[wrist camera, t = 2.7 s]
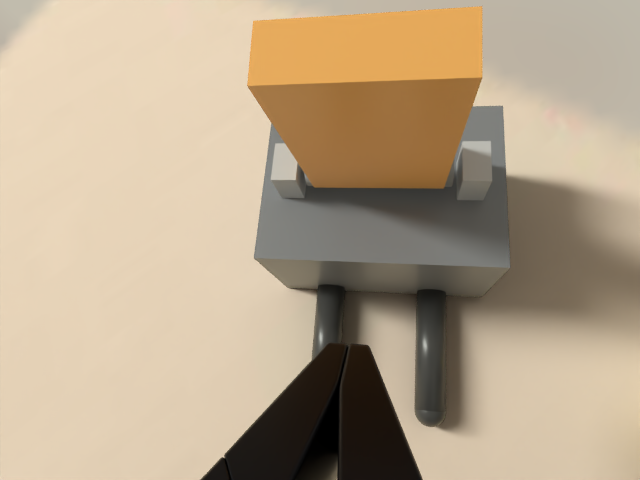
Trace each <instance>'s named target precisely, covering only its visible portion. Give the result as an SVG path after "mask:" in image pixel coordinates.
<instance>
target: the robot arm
mask: <svg viewBox="0 0 640 480" xmlns="http://www.w3.org/2000/svg"><path fill="white" fill-rule="evenodd" d="M224 457H225V458H223V457H222V458H220V460H219V461H218V462H217V463H216V464H215V465H214V466H213V467H212V468H211V469H210V470H209V471H208V472H207V474H206V475H205V476H204V477H203V478H202V479H201V480H336V479H337V480H423V479H422V476H421V474H420V471H419V469H418V466H417V464H416V461H415V459H414V456H413V454H412V452H411V449H410V447H409V444H408V442H407V439H406V437H405V434H404V432H403V429H402V427H401V424H400V422H399V419H398V417H397V414H396V412H395V409H394V407H393V404H392V402H391V399H390V397H389V394H388V392H387V389H386V387H385V384H384V382H383V379H382V377H381V374H380V372H379V369H378V367H377V364H376V362H375V359H374V357H373V354H372V352H371V349H370V347H369V346H368V345H361V344H350V345H349V347H348V345H347V344H345V343H333V342H330V343H328V344H327V345H326V346H325V347H324V348H323V349H322V350H321V351H320V352H319V353H318V354H317V355H316V356H315V357H314V359H313V360H312V361H311V362H310V363H309V364H308V365H307V366H306V367H305V368H304V369H303V370H302V371H301V373H300V374H299V375H298V376H297V377H296V378H295V379H294V380H293V381H292V382H291V383H290V384H289V385H288V387H287V388H286V389H285V390H284V391H283V392H282V393H281V394H280V395H279V396H278V397H277V398H276V399H275V401H274V402H273V403H272V404H271V405H270V406H269V407H268V408H267V409H266V410H265V411H264V412H263V413H262V415H261V416H260V417H259V418H258V419H257V420H256V421H255V422H254V423H253V424H252V425H251V426H250V427H249V429H248V430H247V431H246V432H245V433H244V434H243V435H242V436H241V437H240V438H239V439H238V440H237V442H236V443H235V444H234V445H233V446H232V447H231V448H230V449H229V450H228V451H227V452H226V453H225V455H224Z"/></svg>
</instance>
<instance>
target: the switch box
mask: <svg viewBox="0 0 640 480" xmlns="http://www.w3.org/2000/svg"><path fill="white" fill-rule="evenodd" d="M254 259H255V260H257V261H258V262H259V263H260V264H261V265H262V266H263V267H265V268H266V269H267V270H268V271H269V272H270V273H271V274H273V275H274V276H275V277H276V278H277V279H278V280H279V281H281V282H282V283H283V284H284V285H285V286H286V287H287V288H304V289H318V291H317V303H316V315H315V327H314V338H313V350H312V360H313V359H314V357H315V356H316V355H317V354H318V353H319V352H320V351H321V350H322V349H323V348H324V347H325V346H326V345H327V344H328V343H330V342H333V343H341V341H342V326H343V311H344V296H345V291H364V292H384V293H404V294H417V304H416V359H415V415H416V417H417V419H418V420H419V421H420V422H421V423H422V424H423V425H425V426H428V427H435V426H438V425H440V424H441V423H442V422H443V421H444V419H445V416H446V296H465V297H482V296H483V295H484V294H485V293H486V292H487V291H488V290H489V289H490V288H491V287H492V286H493V285H494V284H495V283H496V282H497V281H498V280H499V279H500V278H501V277H502V276H503V275H504V274H505V273H506V272H507V271H508V270H509V269H510V250H509V228H508V207H507V185H506V163H505V141H504V119H503V106H476V107H472V109H471V111H470V114H469V117H468V120H467V123H466V126H465V129H464V132H463V135H462V138H461V140H460V143H459V146H458V149H457V152H456V155H455V163H454V179H453V185H452V187H444V189H434V188H314V187H313V186H307V184H306V181H305V174H304V171H303V170H302V168H301V167H300V165H299V164H298V162H297V161H296V159H295V158H294V156H293V155H292V153H291V152H290V150H289V149H288V147H287V146H286V144H285V143H284V141H283V139H282V138H281V136H280V135H279V133H278V132H277V130H276V129H275V127H274V126H273V124H272V123H271V131H270V139H269V146H268V154H267V162H266V169H265V177H264V185H263V192H262V200H261V207H260V215H259V223H258V230H257V238H256V246H255V253H254Z"/></svg>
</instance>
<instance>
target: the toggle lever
mask: <svg viewBox="0 0 640 480" xmlns="http://www.w3.org/2000/svg"><path fill="white" fill-rule="evenodd" d="M481 80H482V6H481V7H467V8H466V7H465V8H449V9H434V10H418V11H402V12H388V13H387V12H386V13H372V14H355V15H339V16H324V17H308V18H292V19H276V20H261V21H253V29H252V40H251V51H250V62H249V73H248V83H247V86H248V88H249V89H250V91H251V92H252V94H253V95H254V97H255V98H256V100H257V101H258V103H259V104H260V106H261V107H262V109H263V111H264V112H265V114H266V115H267V117H268V118H269V120H270V121H271V123H272V124H273V126H274V127H275V129H276V130H277V132H278V133H279V135H280V136H281V138H282V139H283V141H284V143H285V144H286V146H287V147H288V149H289V150H290V152H291V153H292V155H293V156H294V158H295V159H296V161H297V162H298V164H299V165H300V167H301V168H302V170H303V171H304V174H305V181H306V184H307V186H313V187H314V188H434V189H444V187H452V185H453V179H454V163H455V155H456V152H457V149H458V146H459V143H460V140H461V138H462V135H463V132H464V129H465V126H466V123H467V120H468V117H469V114H470V111H471V109H472V106H473V103H474V100H475V97H476V94H477V91H478V88H479V85H480V83H481Z"/></svg>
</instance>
